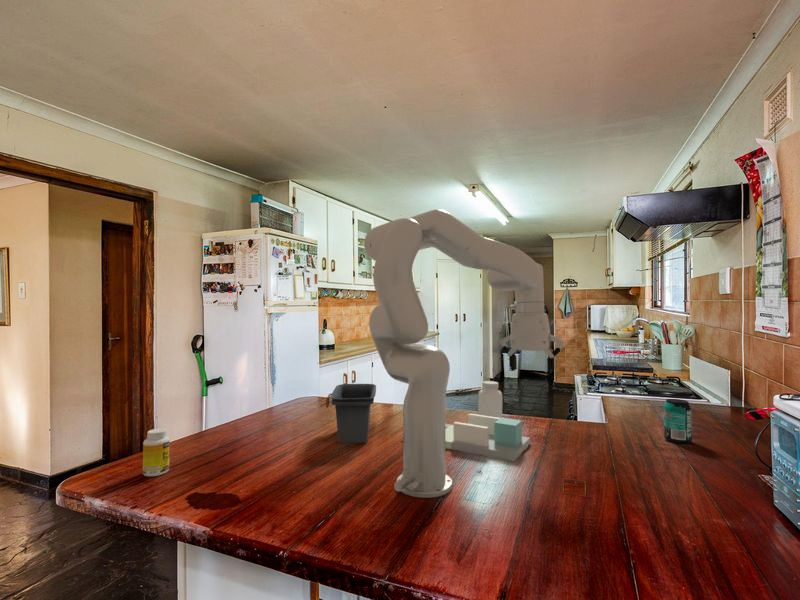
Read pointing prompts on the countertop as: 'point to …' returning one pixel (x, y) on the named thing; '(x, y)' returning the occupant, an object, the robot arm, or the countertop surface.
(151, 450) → the supplement bottle
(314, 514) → the countertop surface
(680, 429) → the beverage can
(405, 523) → the countertop surface
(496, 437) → the teal block
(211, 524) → the countertop surface
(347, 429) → the storage bin
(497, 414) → the pill bottle
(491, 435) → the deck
